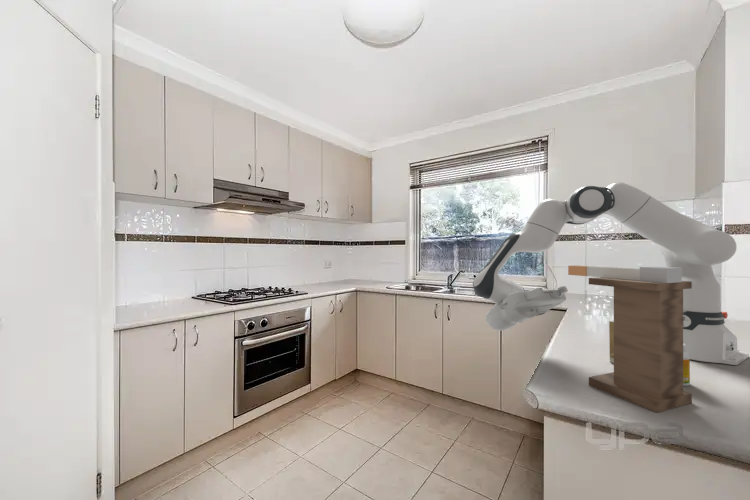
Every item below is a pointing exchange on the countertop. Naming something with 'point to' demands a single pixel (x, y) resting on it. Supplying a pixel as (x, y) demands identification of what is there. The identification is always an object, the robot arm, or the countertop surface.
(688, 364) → the supplement bottle
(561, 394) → the countertop surface
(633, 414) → the countertop surface
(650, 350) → the stand
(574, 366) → the countertop surface
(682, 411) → the countertop surface
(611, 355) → the skincare box
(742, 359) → the robot arm
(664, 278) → the grey tan flat bar
